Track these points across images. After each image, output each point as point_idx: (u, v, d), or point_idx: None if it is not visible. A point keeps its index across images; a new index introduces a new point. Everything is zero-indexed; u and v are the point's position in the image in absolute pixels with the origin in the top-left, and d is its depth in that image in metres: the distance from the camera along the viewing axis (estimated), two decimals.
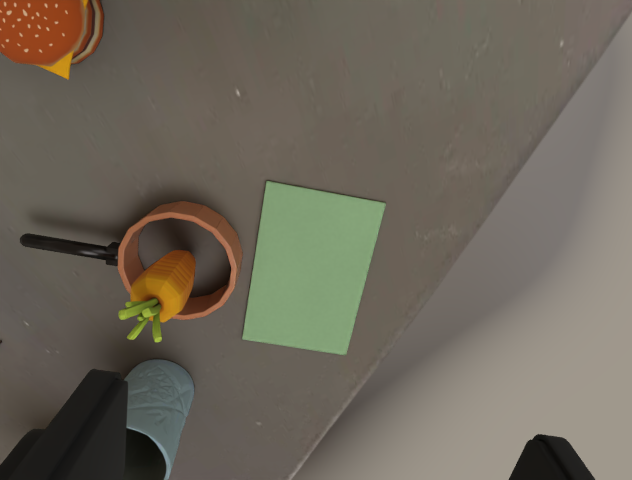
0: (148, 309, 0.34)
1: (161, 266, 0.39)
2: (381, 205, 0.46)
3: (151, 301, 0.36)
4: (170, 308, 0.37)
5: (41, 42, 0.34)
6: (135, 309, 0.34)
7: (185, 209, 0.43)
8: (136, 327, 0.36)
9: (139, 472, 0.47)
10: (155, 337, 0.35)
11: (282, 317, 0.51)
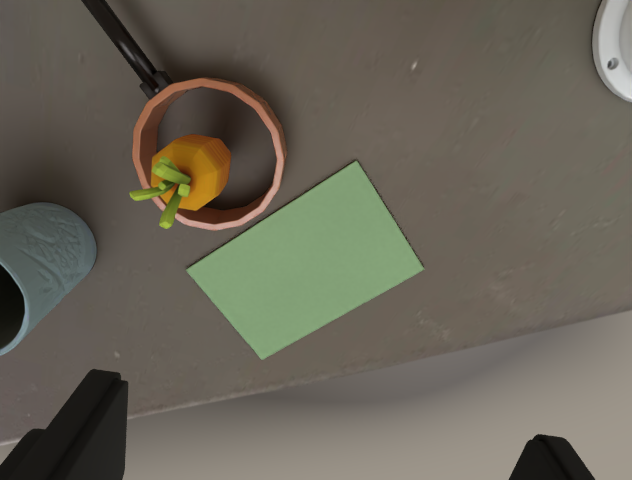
0: (188, 187, 0.25)
1: (215, 149, 0.30)
2: (419, 267, 0.42)
3: (187, 178, 0.27)
4: (193, 200, 0.28)
5: None
6: (175, 175, 0.25)
7: (270, 113, 0.35)
8: (149, 190, 0.26)
9: None
10: (165, 221, 0.25)
11: (243, 283, 0.43)
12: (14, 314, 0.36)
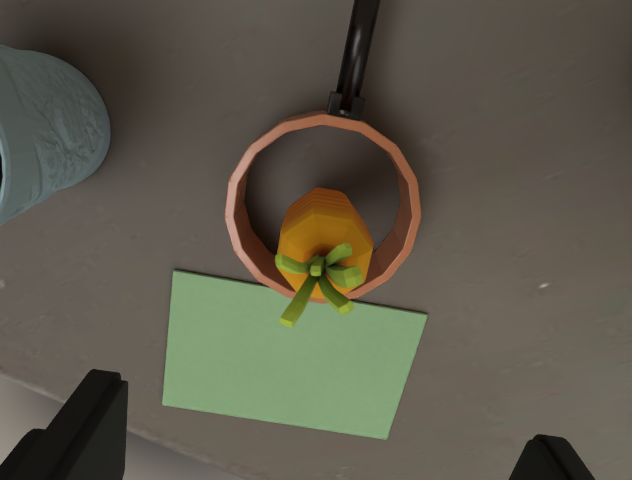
0: (351, 309, 0.17)
1: None
2: (384, 435, 0.38)
3: None
4: (313, 291, 0.20)
5: None
6: None
7: None
8: (299, 267, 0.17)
9: None
10: (292, 321, 0.17)
11: (218, 328, 0.34)
12: None
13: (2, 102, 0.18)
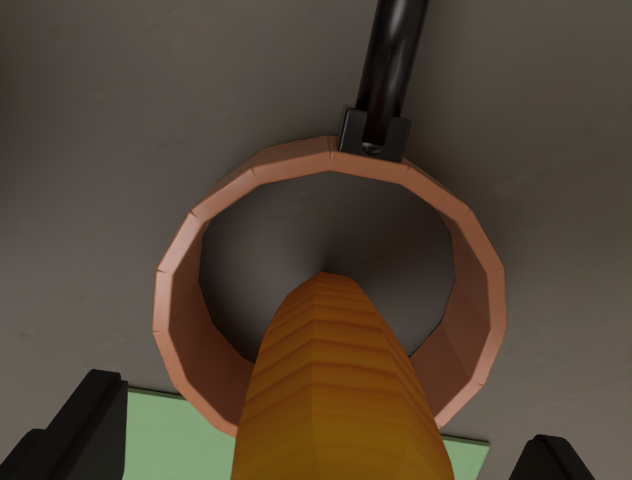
0: None
1: None
2: None
3: None
4: None
5: None
6: None
7: None
8: None
9: None
10: None
11: (166, 465, 0.22)
12: None
13: None
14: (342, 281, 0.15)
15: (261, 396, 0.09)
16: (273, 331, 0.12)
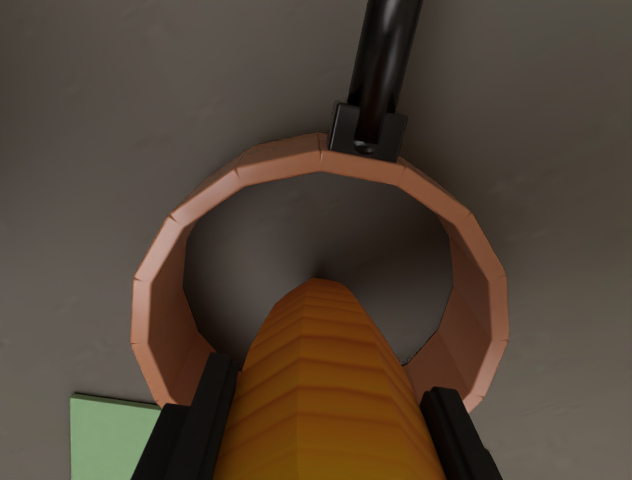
0: None
1: None
2: None
3: None
4: None
5: None
6: None
7: None
8: None
9: None
10: None
11: None
12: None
13: None
14: (334, 289, 0.14)
15: (242, 424, 0.08)
16: (258, 346, 0.11)
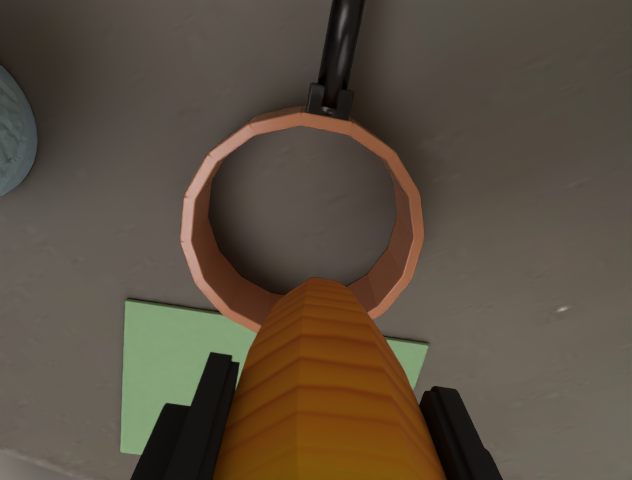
0: None
1: None
2: None
3: None
4: None
5: None
6: None
7: None
8: None
9: None
10: None
11: (182, 365, 0.28)
12: None
13: None
14: (334, 288, 0.14)
15: (242, 423, 0.08)
16: (258, 345, 0.11)
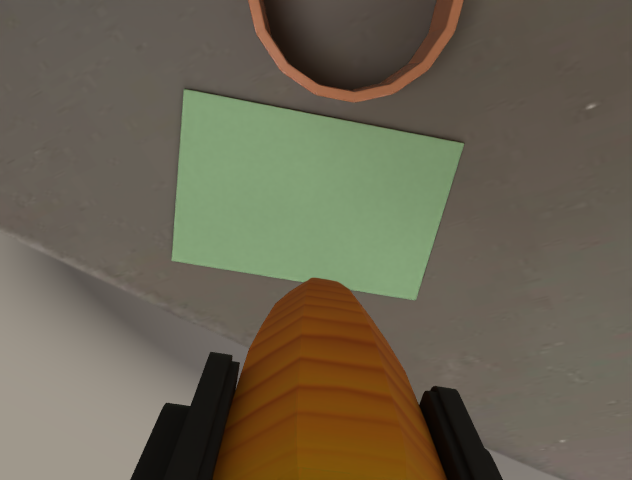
0: None
1: None
2: (413, 295, 0.35)
3: None
4: None
5: None
6: None
7: None
8: None
9: None
10: None
11: (233, 162, 0.31)
12: None
13: None
14: (334, 289, 0.14)
15: (242, 424, 0.08)
16: (258, 346, 0.11)
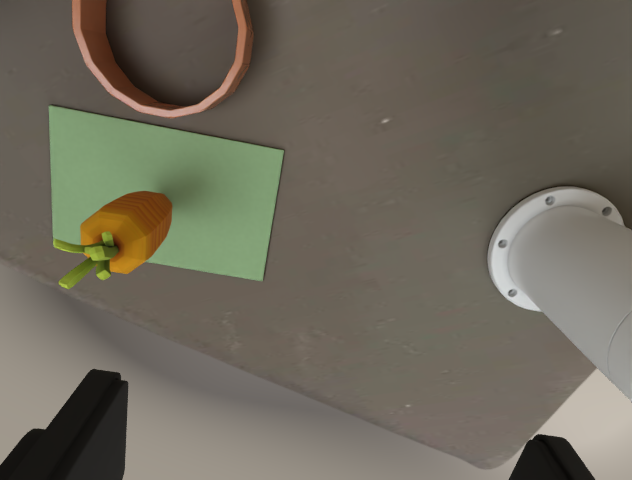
0: (108, 275, 0.26)
1: (158, 232, 0.31)
2: (259, 277, 0.41)
3: (115, 254, 0.27)
4: None
5: None
6: (105, 259, 0.25)
7: (247, 45, 0.32)
8: (74, 247, 0.26)
9: None
10: (66, 284, 0.25)
11: (95, 165, 0.37)
12: None
13: None
14: (153, 192, 0.35)
15: None
16: None
